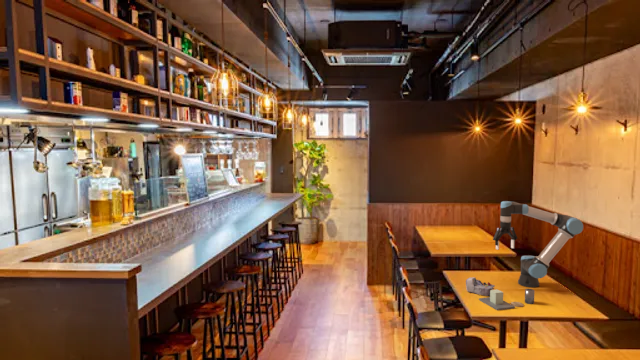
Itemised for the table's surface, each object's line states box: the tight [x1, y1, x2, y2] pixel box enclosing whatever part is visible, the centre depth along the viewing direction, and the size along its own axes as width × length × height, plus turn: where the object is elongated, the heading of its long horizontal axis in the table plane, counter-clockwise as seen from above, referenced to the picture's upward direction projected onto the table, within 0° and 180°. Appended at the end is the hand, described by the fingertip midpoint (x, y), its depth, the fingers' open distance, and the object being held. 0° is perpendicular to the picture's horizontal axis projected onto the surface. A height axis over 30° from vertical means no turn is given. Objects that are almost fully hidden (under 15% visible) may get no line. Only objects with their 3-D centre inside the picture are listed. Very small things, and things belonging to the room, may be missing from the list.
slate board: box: [478, 296, 516, 311], centre depth 291 cm, size 14×20×1 cm
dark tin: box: [524, 288, 535, 305], centre depth 293 cm, size 6×6×9 cm
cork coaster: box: [510, 301, 525, 308], centre depth 289 cm, size 8×8×1 cm
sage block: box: [489, 289, 504, 304], centre depth 290 cm, size 6×6×8 cm
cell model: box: [465, 276, 496, 297], centre depth 313 cm, size 13×11×20 cm
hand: (504, 248), depth 319 cm, fingers open, 13 cm apart
